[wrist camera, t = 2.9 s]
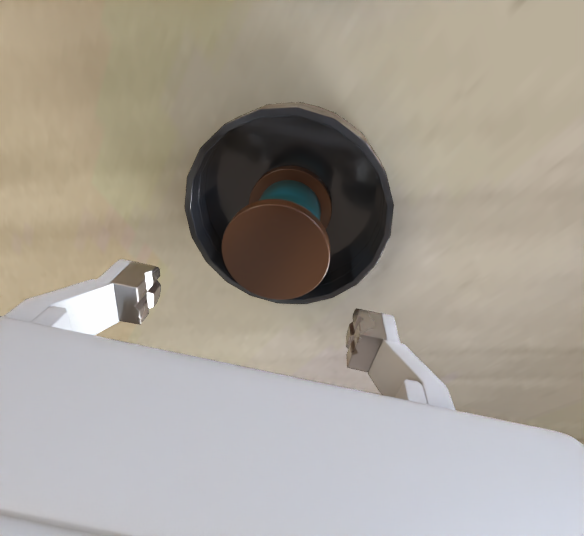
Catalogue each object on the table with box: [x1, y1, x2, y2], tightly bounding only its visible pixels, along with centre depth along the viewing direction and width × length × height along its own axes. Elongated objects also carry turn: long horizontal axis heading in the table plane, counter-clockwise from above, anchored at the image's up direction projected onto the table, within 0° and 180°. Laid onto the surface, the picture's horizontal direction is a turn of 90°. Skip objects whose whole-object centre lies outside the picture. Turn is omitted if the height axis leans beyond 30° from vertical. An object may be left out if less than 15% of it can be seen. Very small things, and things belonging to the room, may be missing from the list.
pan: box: [185, 102, 394, 304], centre depth 22 cm, size 13×13×3 cm
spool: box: [222, 165, 332, 300], centre depth 20 cm, size 6×6×7 cm
